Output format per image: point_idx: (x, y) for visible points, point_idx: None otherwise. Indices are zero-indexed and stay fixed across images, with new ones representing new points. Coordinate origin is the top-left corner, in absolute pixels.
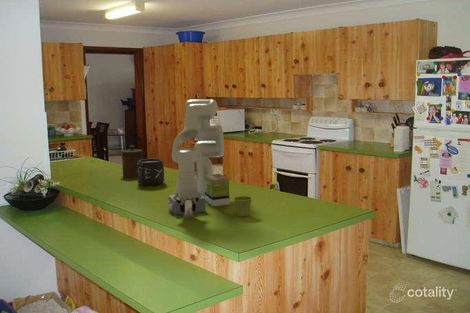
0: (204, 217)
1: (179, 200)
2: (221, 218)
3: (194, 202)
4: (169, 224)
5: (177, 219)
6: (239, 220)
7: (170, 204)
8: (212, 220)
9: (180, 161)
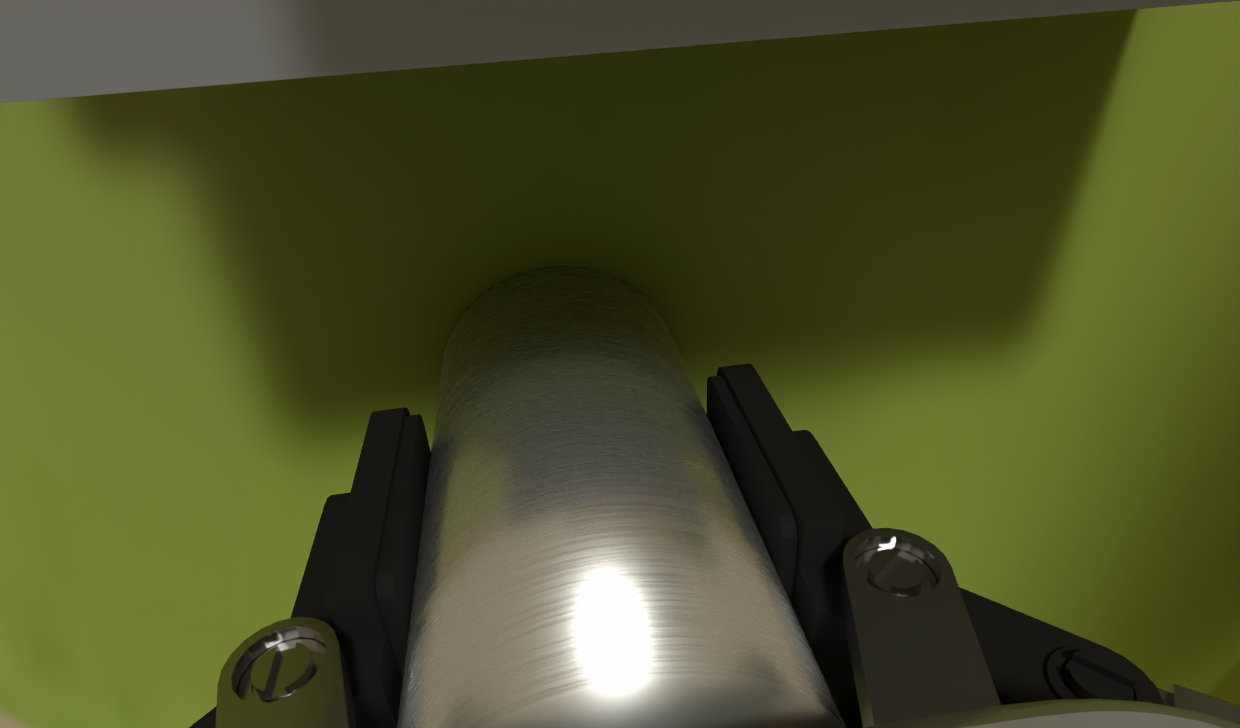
0: (870, 473)
1: (191, 20)
2: (1081, 579)
3: (848, 704)
4: (145, 721)
5: (292, 481)
6: (1208, 689)
7: None
8: None
9: None
